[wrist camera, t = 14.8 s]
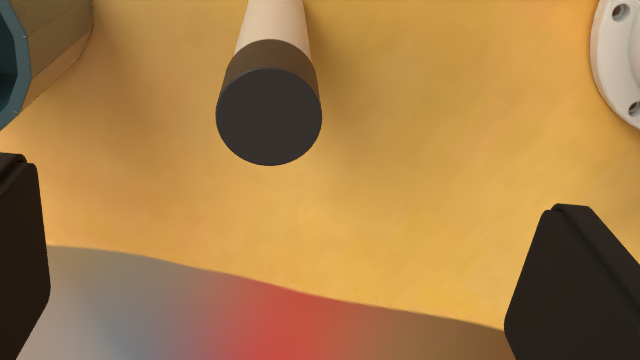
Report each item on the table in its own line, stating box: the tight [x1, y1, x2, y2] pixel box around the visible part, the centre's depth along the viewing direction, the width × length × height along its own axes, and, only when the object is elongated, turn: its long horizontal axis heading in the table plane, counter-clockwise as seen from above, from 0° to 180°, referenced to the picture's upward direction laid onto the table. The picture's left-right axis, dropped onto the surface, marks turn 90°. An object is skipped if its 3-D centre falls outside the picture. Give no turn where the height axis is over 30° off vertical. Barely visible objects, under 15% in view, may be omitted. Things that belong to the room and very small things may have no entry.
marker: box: [216, 0, 322, 166], centre depth 23 cm, size 3×3×14 cm
